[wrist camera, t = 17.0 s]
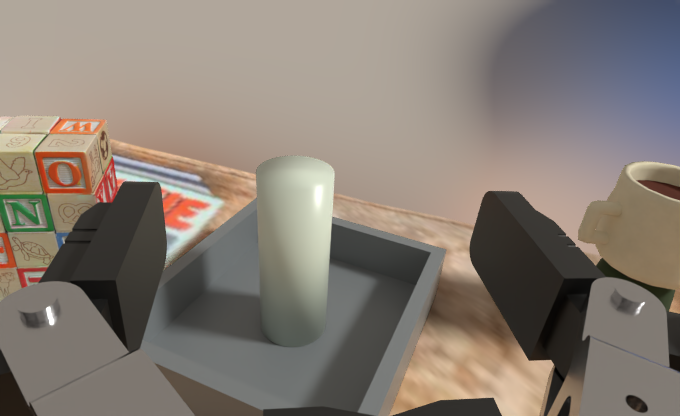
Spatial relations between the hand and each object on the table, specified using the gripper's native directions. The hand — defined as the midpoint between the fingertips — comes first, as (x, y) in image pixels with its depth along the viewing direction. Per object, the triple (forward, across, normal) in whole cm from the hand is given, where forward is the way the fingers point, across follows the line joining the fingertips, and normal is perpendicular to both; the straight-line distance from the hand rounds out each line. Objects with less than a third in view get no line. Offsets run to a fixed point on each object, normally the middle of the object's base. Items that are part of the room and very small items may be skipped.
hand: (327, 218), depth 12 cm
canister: (+15, -1, +18) cm, 24 cm away
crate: (+15, -1, +20) cm, 25 cm away
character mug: (+14, -26, +19) cm, 35 cm away
